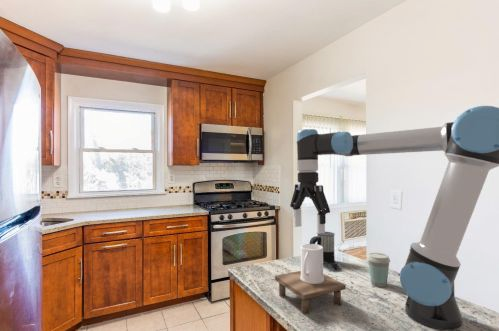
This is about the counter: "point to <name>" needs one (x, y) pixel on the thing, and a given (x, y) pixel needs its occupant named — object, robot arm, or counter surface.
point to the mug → (312, 264)
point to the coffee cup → (378, 269)
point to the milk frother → (326, 247)
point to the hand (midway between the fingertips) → (308, 229)
